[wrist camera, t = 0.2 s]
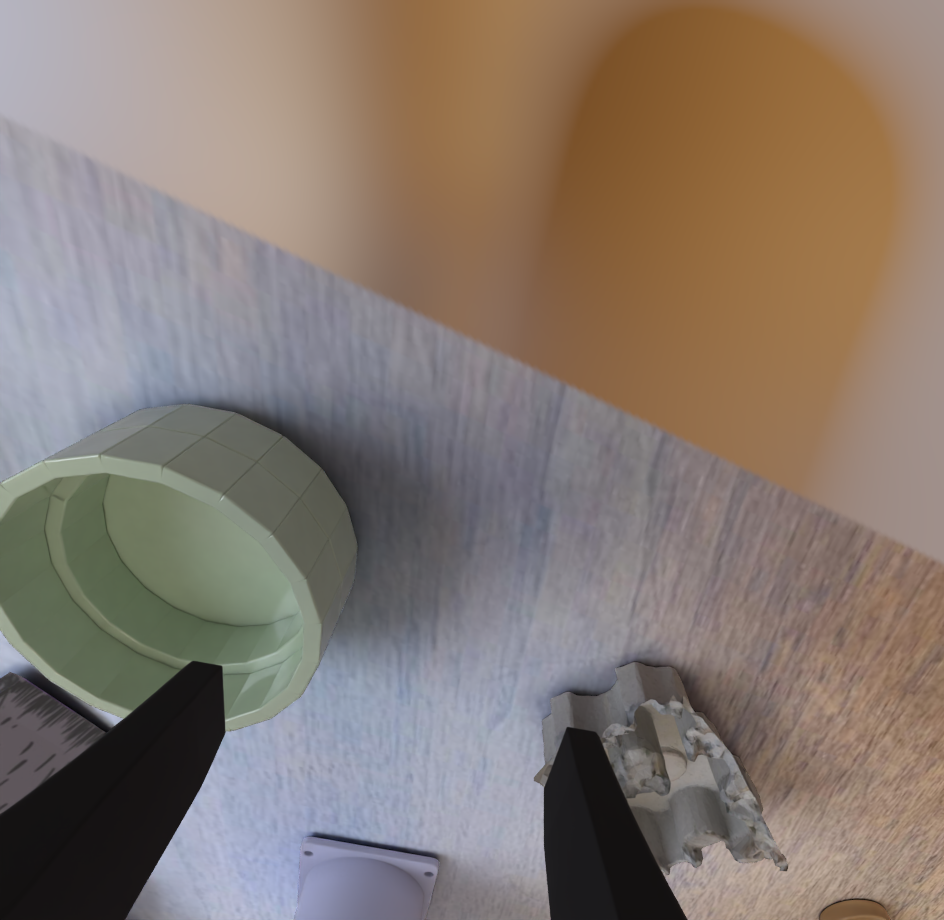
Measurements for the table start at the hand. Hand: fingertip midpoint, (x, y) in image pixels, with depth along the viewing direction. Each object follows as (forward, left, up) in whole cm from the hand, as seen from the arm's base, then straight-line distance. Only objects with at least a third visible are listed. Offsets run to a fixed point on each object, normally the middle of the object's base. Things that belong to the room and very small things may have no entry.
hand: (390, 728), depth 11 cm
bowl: (-3, +9, -10) cm, 14 cm away
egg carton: (-11, -11, -10) cm, 19 cm away
